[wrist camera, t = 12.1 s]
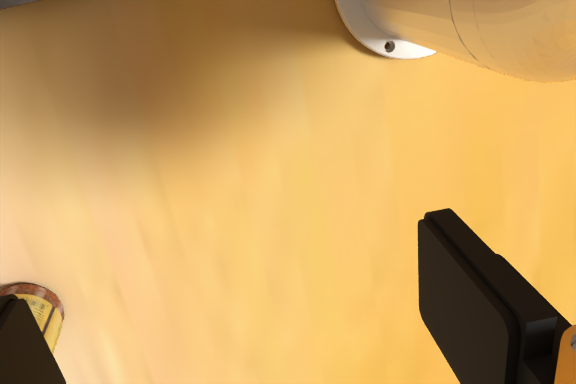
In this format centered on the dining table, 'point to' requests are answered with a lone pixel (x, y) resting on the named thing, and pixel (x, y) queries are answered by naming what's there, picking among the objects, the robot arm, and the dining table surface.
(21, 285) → the sauce bottle
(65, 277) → the dining table surface
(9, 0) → the base plate
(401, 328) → the dining table surface
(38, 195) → the dining table surface
